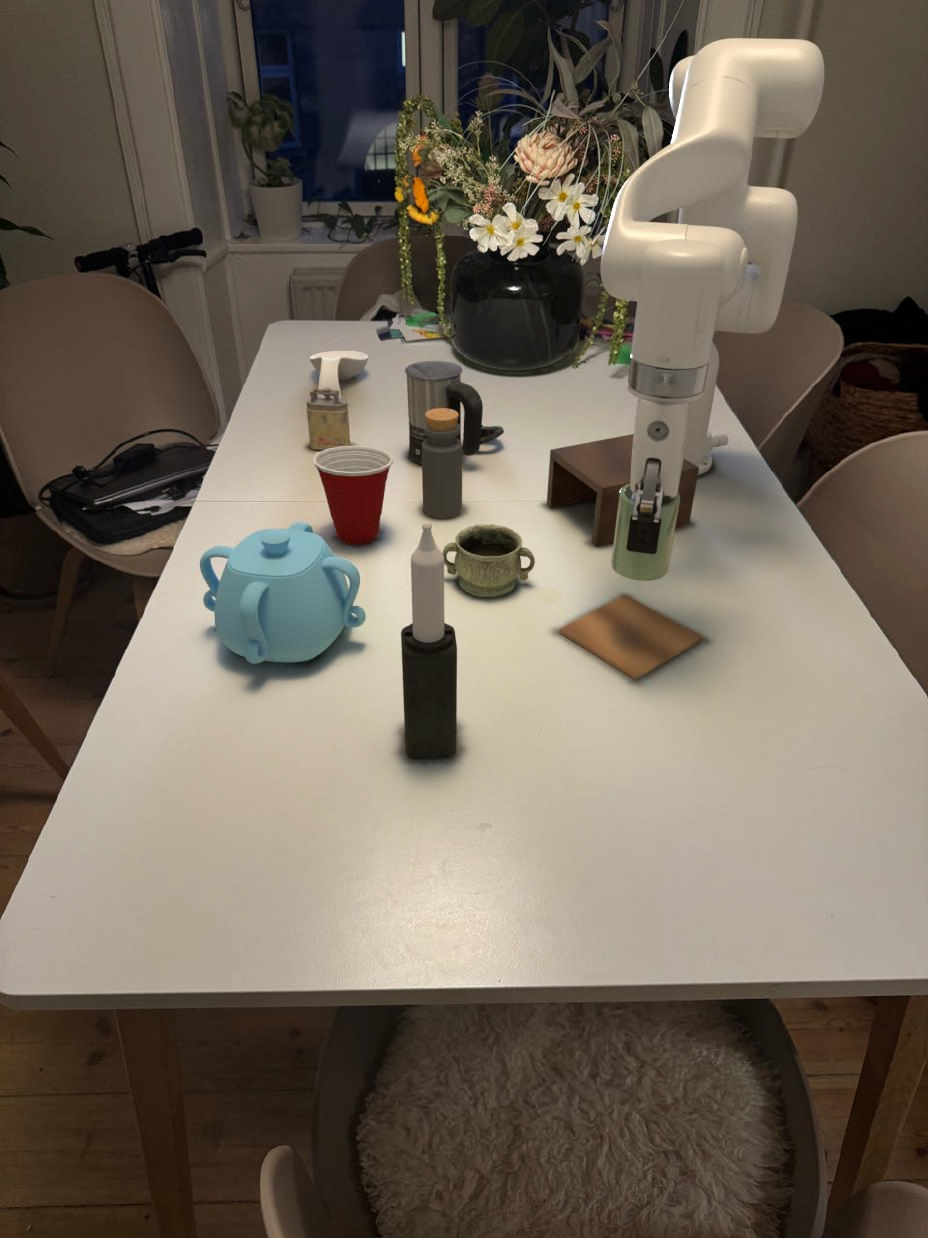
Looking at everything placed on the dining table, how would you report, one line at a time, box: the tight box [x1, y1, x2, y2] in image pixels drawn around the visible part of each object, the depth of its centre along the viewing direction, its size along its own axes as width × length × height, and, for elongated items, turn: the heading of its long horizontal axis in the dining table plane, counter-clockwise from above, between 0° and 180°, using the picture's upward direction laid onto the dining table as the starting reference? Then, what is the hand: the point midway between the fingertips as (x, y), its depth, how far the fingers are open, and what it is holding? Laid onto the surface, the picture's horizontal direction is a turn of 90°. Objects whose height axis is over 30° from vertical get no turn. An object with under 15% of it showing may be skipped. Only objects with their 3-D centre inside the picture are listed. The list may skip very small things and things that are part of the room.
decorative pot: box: [199, 521, 367, 664], centre depth 100 cm, size 16×16×14 cm
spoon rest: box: [309, 350, 369, 399], centre depth 173 cm, size 24×12×7 cm, turn 1°
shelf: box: [546, 433, 699, 547], centre depth 128 cm, size 16×14×9 cm
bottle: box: [421, 408, 463, 520], centre depth 127 cm, size 6×6×15 cm
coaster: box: [558, 594, 703, 681], centre depth 105 cm, size 12×12×1 cm
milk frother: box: [404, 360, 505, 465], centre depth 145 cm, size 14×16×15 cm
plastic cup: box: [312, 445, 394, 546], centre depth 121 cm, size 11×11×12 cm
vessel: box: [441, 524, 536, 598], centre depth 113 cm, size 12×9×6 cm
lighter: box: [306, 387, 352, 451], centre depth 147 cm, size 7×4×10 cm, turn 82°
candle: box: [400, 521, 458, 760], centre depth 82 cm, size 5×5×25 cm
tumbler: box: [610, 482, 680, 582], centre depth 97 cm, size 6×6×9 cm
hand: (644, 534), depth 97 cm, fingers closed on tumbler, 6 cm apart
